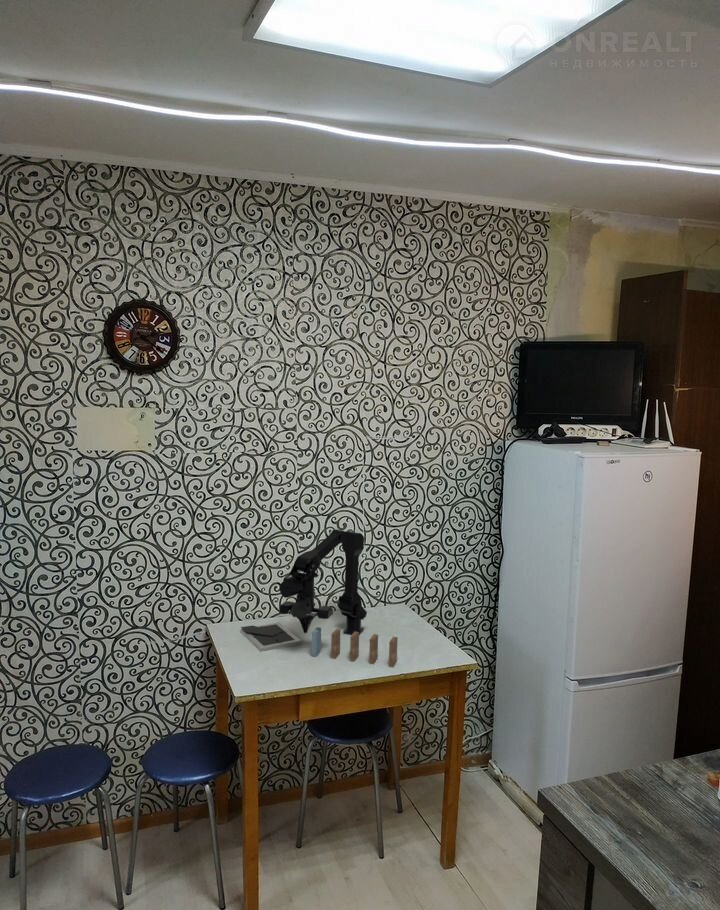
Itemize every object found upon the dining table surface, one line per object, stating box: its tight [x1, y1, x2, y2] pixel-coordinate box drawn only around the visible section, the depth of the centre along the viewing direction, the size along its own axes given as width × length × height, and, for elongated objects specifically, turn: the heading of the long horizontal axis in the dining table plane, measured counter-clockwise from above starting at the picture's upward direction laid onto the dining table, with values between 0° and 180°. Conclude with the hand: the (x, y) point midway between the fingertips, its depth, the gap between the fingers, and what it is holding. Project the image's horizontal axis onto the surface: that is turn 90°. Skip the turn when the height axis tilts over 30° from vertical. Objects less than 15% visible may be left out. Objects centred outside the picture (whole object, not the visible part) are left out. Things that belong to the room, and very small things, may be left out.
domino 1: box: [311, 626, 322, 658], centre depth 251 cm, size 2×5×9 cm, turn 163°
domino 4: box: [368, 633, 379, 666], centre depth 246 cm, size 2×5×9 cm, turn 163°
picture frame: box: [240, 622, 302, 653], centre depth 266 cm, size 16×3×21 cm
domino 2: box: [330, 628, 341, 660], centre depth 250 cm, size 2×5×9 cm, turn 163°
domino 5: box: [388, 636, 399, 668], centre depth 244 cm, size 2×5×9 cm, turn 163°
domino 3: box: [349, 632, 360, 662], centre depth 248 cm, size 2×5×9 cm, turn 163°
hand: (305, 632), depth 253 cm, fingers closed
